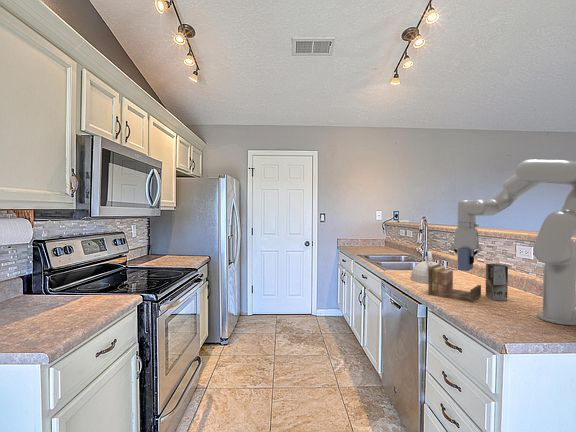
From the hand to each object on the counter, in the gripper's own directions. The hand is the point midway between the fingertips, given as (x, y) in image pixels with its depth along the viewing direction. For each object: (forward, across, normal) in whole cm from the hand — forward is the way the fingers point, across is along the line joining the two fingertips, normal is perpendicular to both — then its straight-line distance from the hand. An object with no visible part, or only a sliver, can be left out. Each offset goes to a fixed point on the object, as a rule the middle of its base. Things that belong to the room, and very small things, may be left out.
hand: (465, 263), depth 155 cm
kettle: (+17, +27, -27) cm, 42 cm away
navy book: (+3, 0, 0) cm, 3 cm away
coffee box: (+17, -11, -9) cm, 22 cm away
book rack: (+16, +5, 0) cm, 17 cm away
